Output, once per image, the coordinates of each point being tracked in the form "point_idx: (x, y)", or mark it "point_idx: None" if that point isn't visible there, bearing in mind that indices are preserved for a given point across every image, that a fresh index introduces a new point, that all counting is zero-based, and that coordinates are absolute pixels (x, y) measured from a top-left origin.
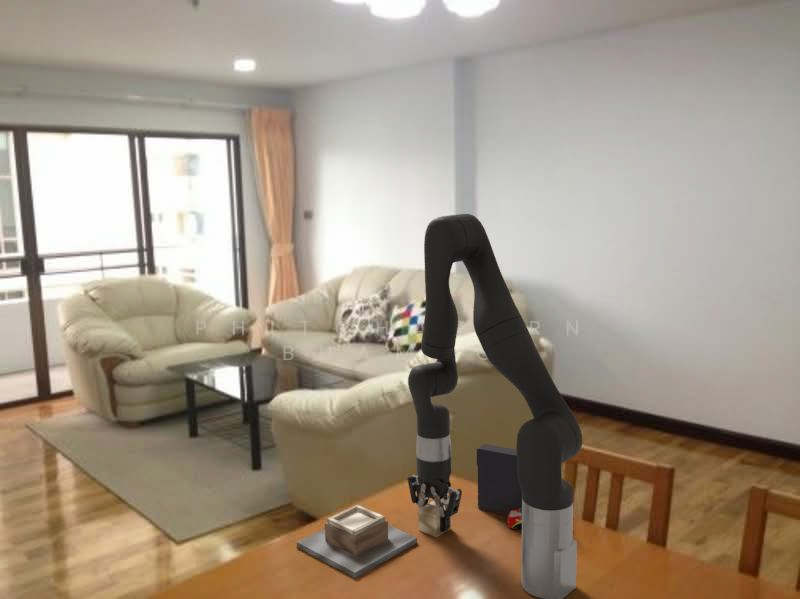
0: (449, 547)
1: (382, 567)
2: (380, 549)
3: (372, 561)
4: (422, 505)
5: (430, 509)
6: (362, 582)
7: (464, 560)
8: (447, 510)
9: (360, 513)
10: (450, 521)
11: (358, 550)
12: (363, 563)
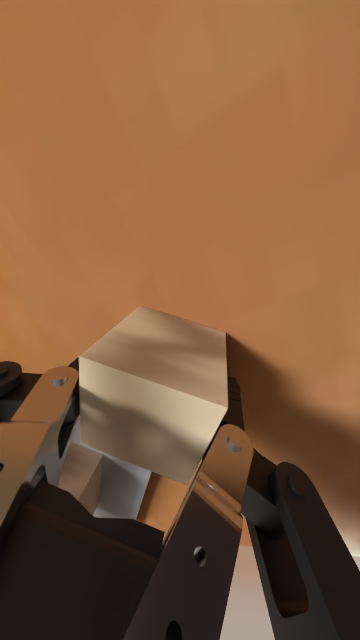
0: (262, 432)
1: (154, 498)
2: (119, 486)
3: (134, 513)
4: (74, 428)
5: (130, 443)
6: (152, 524)
7: (328, 477)
8: (256, 547)
9: None
10: (225, 350)
11: (93, 510)
12: (125, 516)
